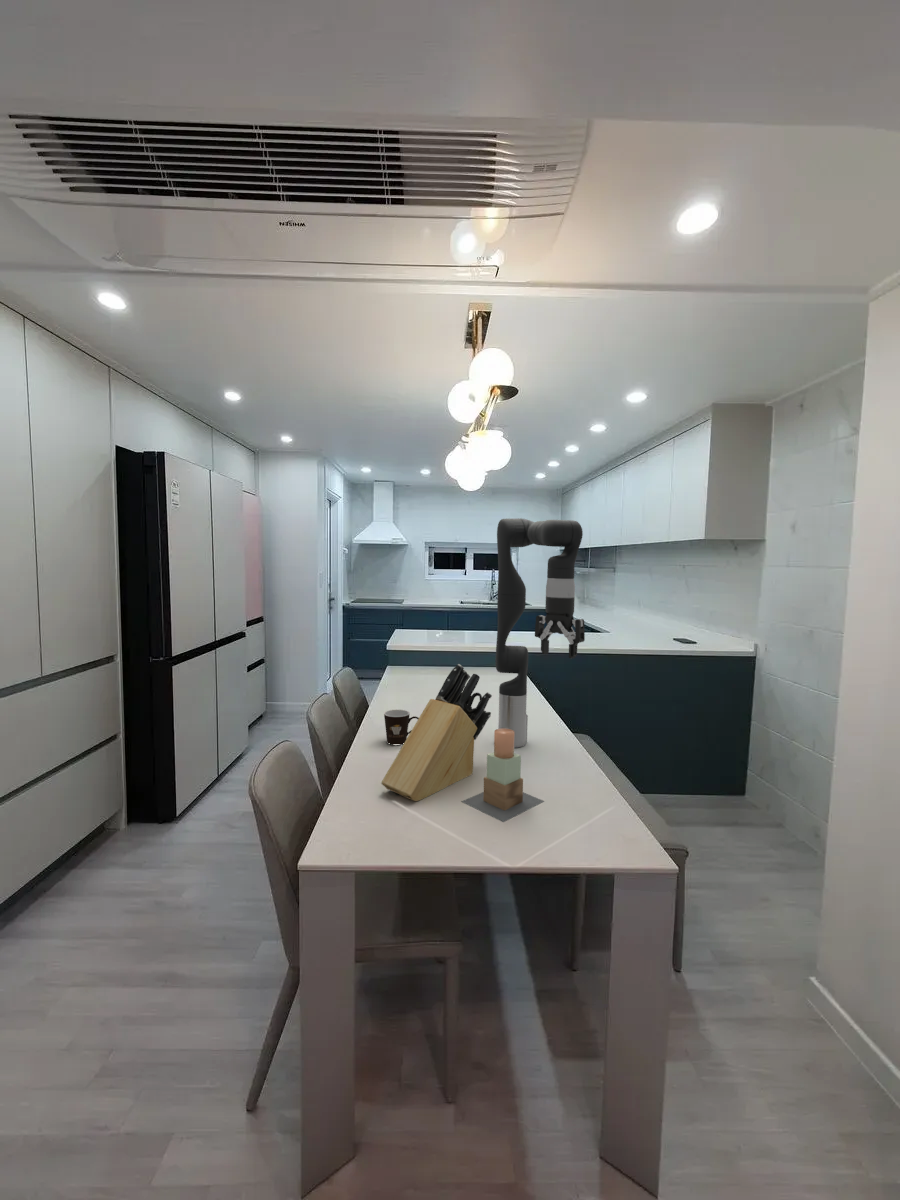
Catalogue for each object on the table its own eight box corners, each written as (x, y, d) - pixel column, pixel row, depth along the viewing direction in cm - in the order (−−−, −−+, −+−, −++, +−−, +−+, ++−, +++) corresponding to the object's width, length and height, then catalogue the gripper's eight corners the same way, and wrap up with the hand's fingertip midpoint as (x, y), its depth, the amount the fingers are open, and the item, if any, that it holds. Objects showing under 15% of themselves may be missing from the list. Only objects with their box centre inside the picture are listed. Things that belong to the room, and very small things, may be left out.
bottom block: (501, 792, 136) (502, 770, 136) (522, 801, 131) (523, 778, 130) (483, 800, 131) (483, 777, 131) (504, 810, 126) (505, 786, 126)
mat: (502, 785, 142) (502, 783, 142) (544, 803, 132) (544, 801, 131) (461, 803, 131) (461, 801, 131) (503, 824, 121) (503, 822, 120)
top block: (502, 771, 135) (502, 749, 134) (520, 778, 131) (520, 755, 130) (486, 777, 131) (487, 754, 130) (504, 785, 126) (505, 761, 126)
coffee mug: (379, 744, 172) (379, 714, 172) (391, 736, 180) (391, 708, 180) (410, 749, 168) (410, 719, 167) (421, 741, 176) (422, 712, 175)
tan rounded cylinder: (502, 749, 134) (503, 727, 133) (518, 755, 130) (518, 731, 130) (489, 754, 130) (490, 731, 130) (505, 760, 127) (505, 736, 126)
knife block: (493, 766, 155) (495, 664, 153) (411, 807, 128) (412, 684, 126) (464, 757, 162) (465, 659, 160) (380, 794, 135) (380, 677, 133)
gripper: (591, 596, 135) (589, 658, 136) (546, 593, 145) (544, 651, 147) (575, 597, 130) (573, 661, 131) (529, 594, 140) (528, 653, 141)
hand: (558, 655), depth 139 cm, fingers open, 8 cm apart
